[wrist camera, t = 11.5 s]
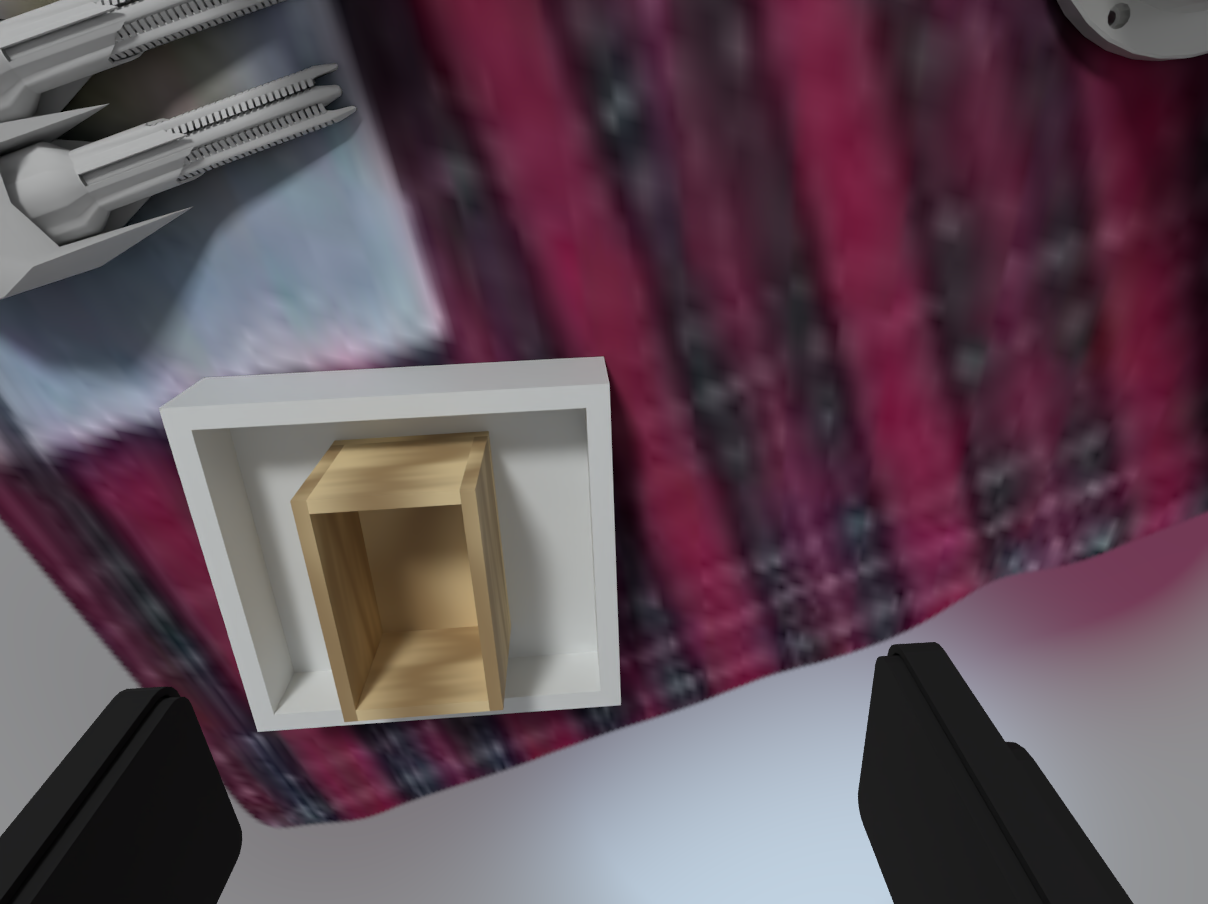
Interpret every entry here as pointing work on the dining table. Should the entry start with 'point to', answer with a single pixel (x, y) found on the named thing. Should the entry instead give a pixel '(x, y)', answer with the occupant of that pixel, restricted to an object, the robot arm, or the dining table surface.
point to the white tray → (392, 409)
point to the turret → (127, 159)
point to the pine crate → (408, 574)
